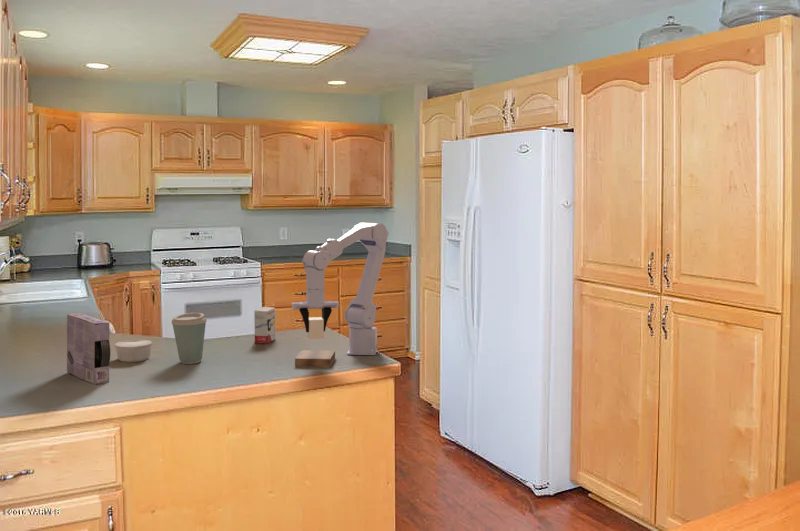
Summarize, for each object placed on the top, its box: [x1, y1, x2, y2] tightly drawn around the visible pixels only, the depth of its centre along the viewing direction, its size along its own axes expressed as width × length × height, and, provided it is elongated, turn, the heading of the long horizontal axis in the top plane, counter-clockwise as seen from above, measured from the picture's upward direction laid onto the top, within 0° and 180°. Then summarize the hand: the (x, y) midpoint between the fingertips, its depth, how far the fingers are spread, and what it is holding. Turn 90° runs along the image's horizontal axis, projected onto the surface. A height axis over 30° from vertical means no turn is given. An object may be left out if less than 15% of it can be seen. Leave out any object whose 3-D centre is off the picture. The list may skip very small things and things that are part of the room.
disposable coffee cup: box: [171, 312, 207, 365], centre depth 220 cm, size 11×11×15 cm
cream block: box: [306, 316, 325, 340], centre depth 221 cm, size 4×4×6 cm
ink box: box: [254, 306, 276, 345], centre depth 251 cm, size 9×5×12 cm, turn 168°
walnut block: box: [294, 349, 336, 368], centre depth 222 cm, size 11×11×3 cm
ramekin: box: [114, 339, 153, 363], centre depth 224 cm, size 11×11×5 cm
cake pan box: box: [66, 312, 111, 386], centre depth 201 cm, size 19×5×18 cm, turn 48°
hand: (315, 331), depth 221 cm, fingers closed on cream block, 4 cm apart
